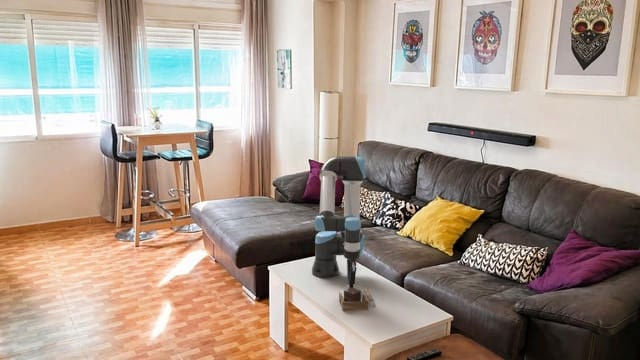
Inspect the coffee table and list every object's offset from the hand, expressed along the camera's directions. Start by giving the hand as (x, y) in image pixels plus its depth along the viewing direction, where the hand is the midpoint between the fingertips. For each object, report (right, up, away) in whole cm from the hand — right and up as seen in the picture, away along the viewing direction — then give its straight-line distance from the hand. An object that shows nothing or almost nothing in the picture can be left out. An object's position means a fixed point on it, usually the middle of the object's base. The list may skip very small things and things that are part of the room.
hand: (350, 295), depth 252 cm
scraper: (+9, -2, +1) cm, 9 cm away
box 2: (+1, -3, -6) cm, 7 cm away
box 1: (0, -3, -6) cm, 7 cm away
